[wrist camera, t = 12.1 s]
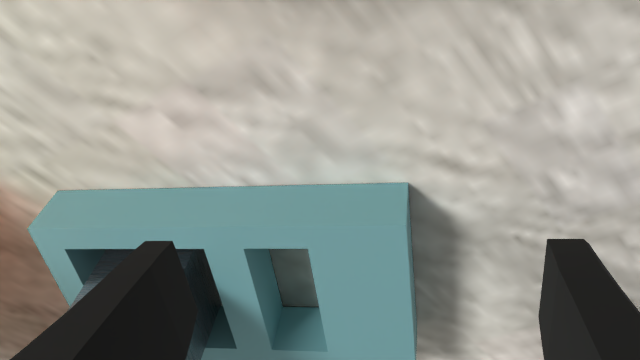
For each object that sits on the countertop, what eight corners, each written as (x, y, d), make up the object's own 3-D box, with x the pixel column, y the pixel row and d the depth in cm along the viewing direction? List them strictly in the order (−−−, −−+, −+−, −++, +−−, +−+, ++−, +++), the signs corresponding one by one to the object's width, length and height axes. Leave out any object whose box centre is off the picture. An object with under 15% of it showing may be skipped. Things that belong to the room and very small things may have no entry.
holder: (408, 182, 23) (406, 225, 21) (416, 325, 28) (416, 370, 26) (57, 190, 26) (26, 228, 24) (119, 318, 31) (98, 359, 29)
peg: (204, 225, 26) (132, 384, 20) (226, 290, 28) (167, 451, 22) (120, 226, 27) (24, 380, 20) (147, 289, 29) (69, 445, 23)
